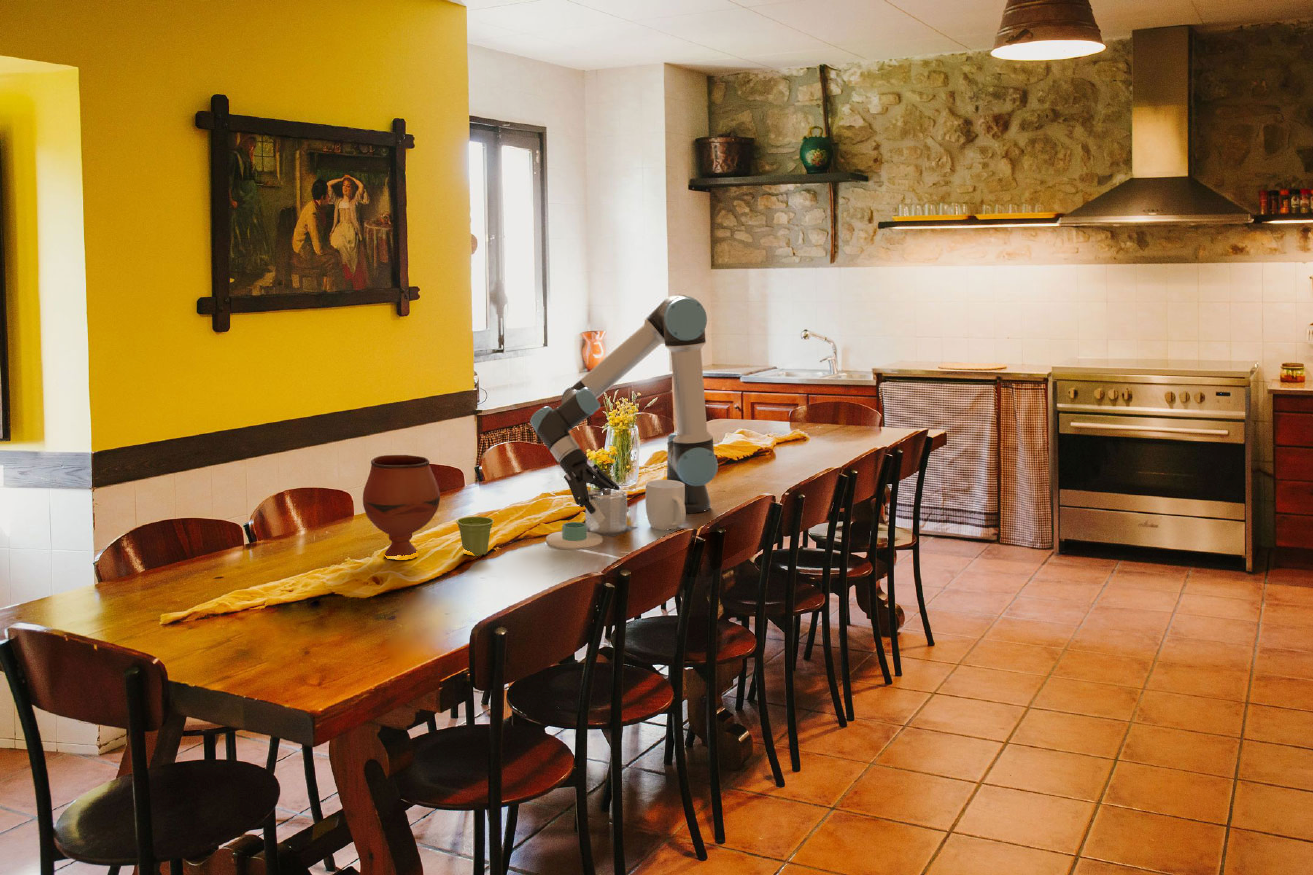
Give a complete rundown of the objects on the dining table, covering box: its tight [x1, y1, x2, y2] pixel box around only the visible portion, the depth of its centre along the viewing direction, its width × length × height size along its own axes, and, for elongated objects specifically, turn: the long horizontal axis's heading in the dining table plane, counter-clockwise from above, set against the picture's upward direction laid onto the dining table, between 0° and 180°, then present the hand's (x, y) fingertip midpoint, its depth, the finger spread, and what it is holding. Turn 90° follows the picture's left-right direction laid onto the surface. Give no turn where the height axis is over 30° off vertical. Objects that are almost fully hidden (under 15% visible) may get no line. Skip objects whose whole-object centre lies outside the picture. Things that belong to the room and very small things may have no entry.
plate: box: [545, 521, 604, 551], centre depth 309 cm, size 15×15×5 cm
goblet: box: [362, 454, 441, 556], centre depth 290 cm, size 19×19×25 cm
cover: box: [584, 488, 628, 534], centre depth 321 cm, size 11×11×11 cm
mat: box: [587, 524, 638, 538], centre depth 322 cm, size 13×13×1 cm
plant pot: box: [456, 516, 495, 557], centre depth 296 cm, size 9×9×9 cm
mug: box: [645, 479, 687, 531], centre depth 323 cm, size 15×11×13 cm
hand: (614, 517), depth 320 cm, fingers closed on cover, 11 cm apart
